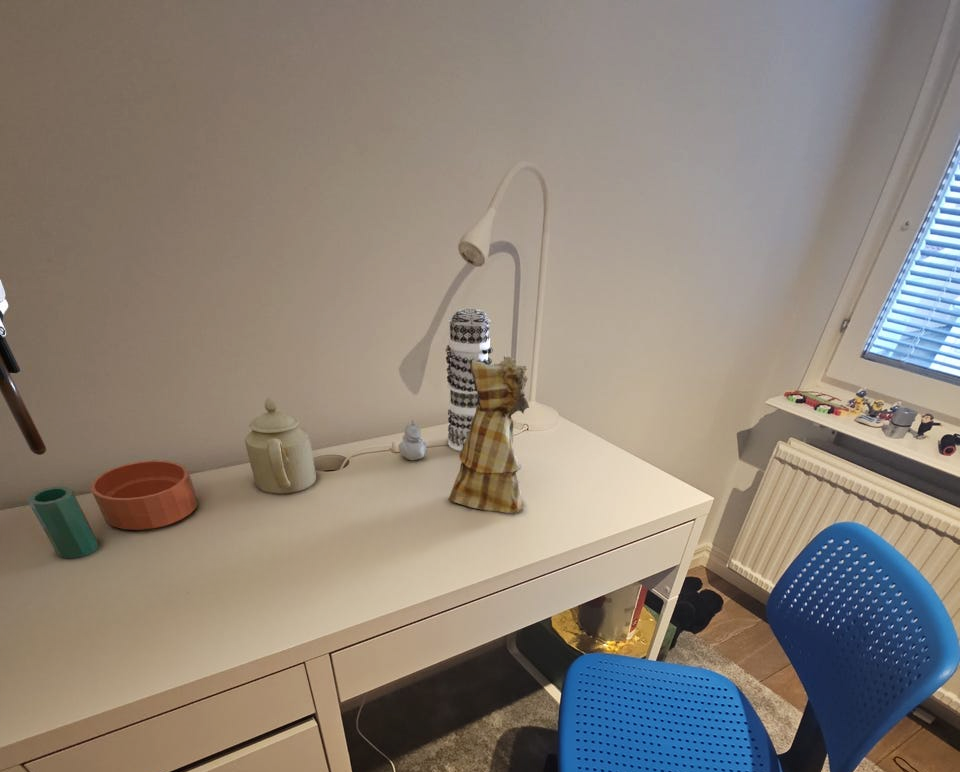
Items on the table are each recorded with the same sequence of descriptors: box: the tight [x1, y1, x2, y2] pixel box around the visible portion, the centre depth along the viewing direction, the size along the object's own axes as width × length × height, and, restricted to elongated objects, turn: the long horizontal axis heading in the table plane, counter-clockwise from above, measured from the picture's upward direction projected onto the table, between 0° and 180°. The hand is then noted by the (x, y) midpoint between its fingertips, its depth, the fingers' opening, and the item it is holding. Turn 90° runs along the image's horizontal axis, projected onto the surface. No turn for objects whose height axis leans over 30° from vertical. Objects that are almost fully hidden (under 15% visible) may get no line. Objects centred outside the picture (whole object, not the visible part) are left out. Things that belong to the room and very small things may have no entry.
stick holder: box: [27, 486, 99, 560], centre depth 82 cm, size 5×5×9 cm
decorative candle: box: [445, 308, 494, 452], centre depth 112 cm, size 9×9×25 cm
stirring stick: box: [0, 355, 47, 456], centre depth 71 cm, size 2×2×16 cm
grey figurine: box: [398, 419, 427, 461], centre depth 111 cm, size 5×7×8 cm
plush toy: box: [447, 355, 530, 514], centre depth 94 cm, size 14×14×25 cm
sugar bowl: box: [244, 397, 317, 495], centre depth 98 cm, size 15×11×15 cm
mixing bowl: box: [89, 459, 199, 531], centre depth 92 cm, size 14×14×6 cm
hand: (0, 374), depth 70 cm, fingers closed on stirring stick, 1 cm apart
